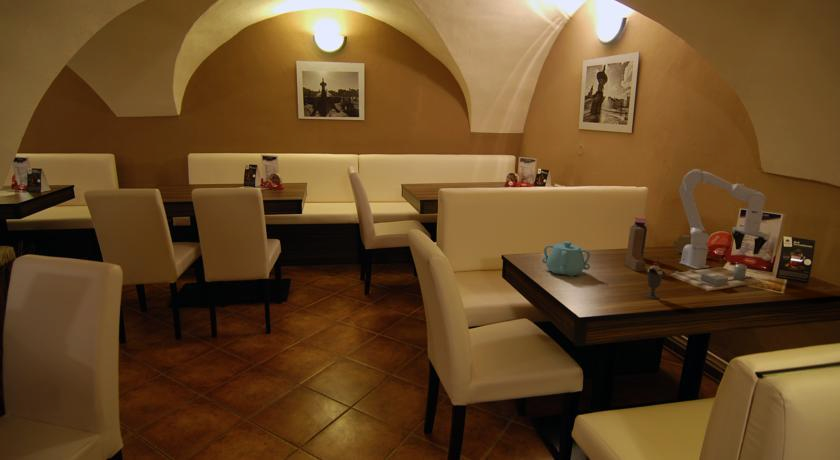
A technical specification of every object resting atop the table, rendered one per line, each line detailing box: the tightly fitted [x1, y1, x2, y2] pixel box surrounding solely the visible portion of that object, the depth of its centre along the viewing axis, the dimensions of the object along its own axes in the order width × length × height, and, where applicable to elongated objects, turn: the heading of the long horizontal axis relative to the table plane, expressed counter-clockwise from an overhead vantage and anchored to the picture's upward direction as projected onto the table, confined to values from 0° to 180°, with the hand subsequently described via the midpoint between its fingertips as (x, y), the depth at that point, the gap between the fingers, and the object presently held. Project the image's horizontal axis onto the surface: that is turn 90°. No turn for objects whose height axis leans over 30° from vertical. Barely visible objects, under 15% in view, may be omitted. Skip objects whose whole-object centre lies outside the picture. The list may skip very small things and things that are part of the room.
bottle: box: [631, 215, 648, 259], centre depth 228 cm, size 7×7×20 cm
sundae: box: [644, 257, 666, 300], centre depth 180 cm, size 7×7×15 cm
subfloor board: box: [670, 266, 761, 292], centre depth 203 cm, size 18×30×2 cm, turn 111°
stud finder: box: [701, 273, 728, 287], centre depth 195 cm, size 7×6×4 cm
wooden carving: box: [671, 234, 710, 255], centre depth 236 cm, size 16×5×10 cm, turn 56°
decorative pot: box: [541, 240, 591, 278], centre depth 206 cm, size 16×16×14 cm
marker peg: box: [733, 263, 748, 281], centre depth 200 cm, size 4×4×6 cm
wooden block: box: [624, 226, 647, 272], centre depth 213 cm, size 9×4×18 cm, turn 5°
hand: (746, 251), depth 208 cm, fingers open, 7 cm apart
